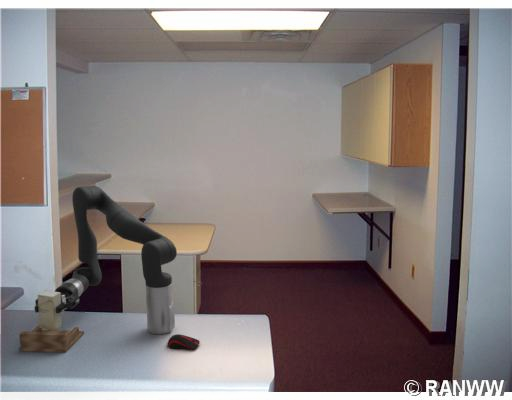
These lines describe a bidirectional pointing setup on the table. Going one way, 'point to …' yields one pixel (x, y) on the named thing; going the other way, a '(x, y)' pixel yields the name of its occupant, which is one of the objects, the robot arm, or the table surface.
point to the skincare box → (49, 310)
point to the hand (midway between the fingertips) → (46, 310)
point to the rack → (49, 340)
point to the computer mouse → (182, 342)
